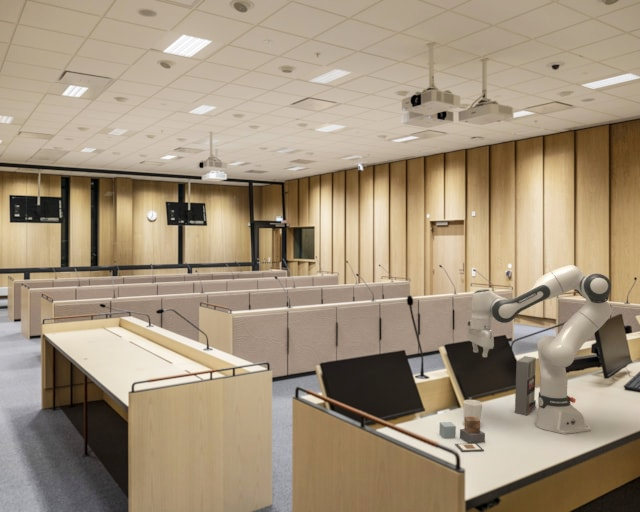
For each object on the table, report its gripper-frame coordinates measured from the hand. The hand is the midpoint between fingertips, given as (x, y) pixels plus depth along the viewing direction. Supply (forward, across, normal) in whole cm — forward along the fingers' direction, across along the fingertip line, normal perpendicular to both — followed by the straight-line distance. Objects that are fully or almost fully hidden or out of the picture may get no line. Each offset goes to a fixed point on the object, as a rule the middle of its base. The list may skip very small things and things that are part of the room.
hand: (480, 354), depth 241 cm
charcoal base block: (+30, -26, +14) cm, 42 cm away
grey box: (+29, +7, -27) cm, 41 cm away
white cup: (+29, -9, +7) cm, 32 cm away
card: (+29, -34, +19) cm, 49 cm away
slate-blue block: (+29, -21, +23) cm, 43 cm away
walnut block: (+26, -26, +14) cm, 39 cm away
